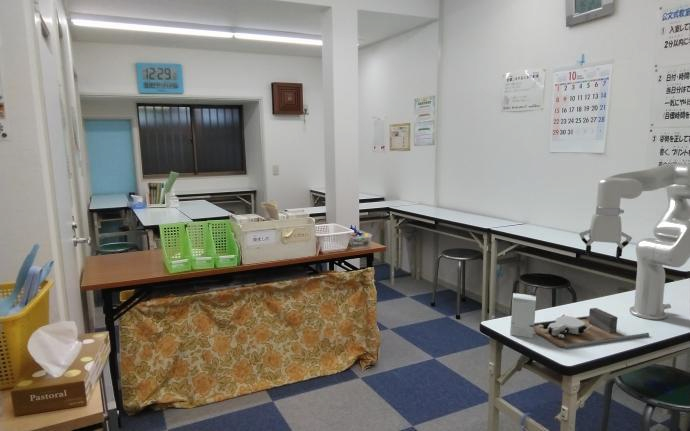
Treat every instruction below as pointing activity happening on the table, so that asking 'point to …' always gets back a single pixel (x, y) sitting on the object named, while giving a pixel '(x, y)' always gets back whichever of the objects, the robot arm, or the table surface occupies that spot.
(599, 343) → the guide rails
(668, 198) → the robot arm
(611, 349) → the table surface
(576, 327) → the robot toy
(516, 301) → the skincare box
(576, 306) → the table surface
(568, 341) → the brown rectangular mat
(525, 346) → the table surface
